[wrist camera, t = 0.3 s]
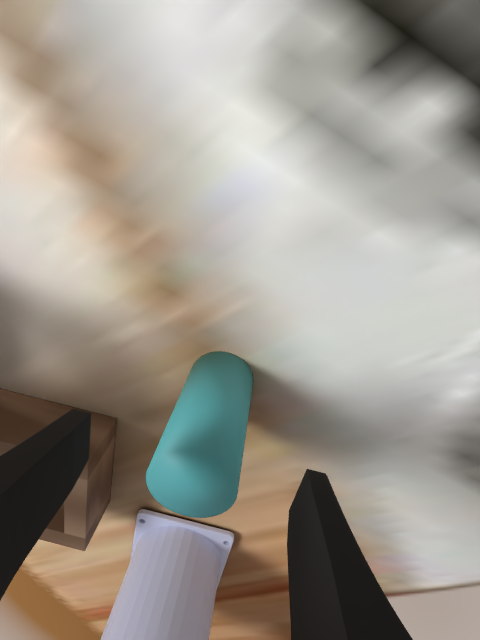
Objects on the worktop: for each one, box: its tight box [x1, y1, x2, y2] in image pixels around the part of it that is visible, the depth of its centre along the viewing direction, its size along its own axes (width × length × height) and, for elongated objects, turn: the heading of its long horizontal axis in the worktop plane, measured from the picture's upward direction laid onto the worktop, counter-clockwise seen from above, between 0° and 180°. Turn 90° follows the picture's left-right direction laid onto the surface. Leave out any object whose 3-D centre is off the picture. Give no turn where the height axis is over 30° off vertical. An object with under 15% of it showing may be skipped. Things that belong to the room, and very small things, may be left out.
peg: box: [146, 351, 253, 518], centre depth 19 cm, size 4×4×8 cm
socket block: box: [0, 389, 117, 551], centre depth 25 cm, size 9×9×4 cm
